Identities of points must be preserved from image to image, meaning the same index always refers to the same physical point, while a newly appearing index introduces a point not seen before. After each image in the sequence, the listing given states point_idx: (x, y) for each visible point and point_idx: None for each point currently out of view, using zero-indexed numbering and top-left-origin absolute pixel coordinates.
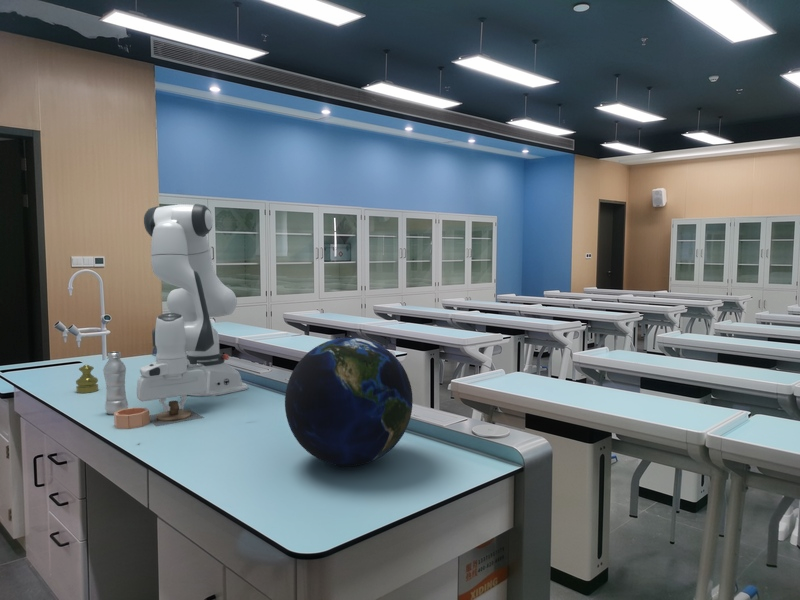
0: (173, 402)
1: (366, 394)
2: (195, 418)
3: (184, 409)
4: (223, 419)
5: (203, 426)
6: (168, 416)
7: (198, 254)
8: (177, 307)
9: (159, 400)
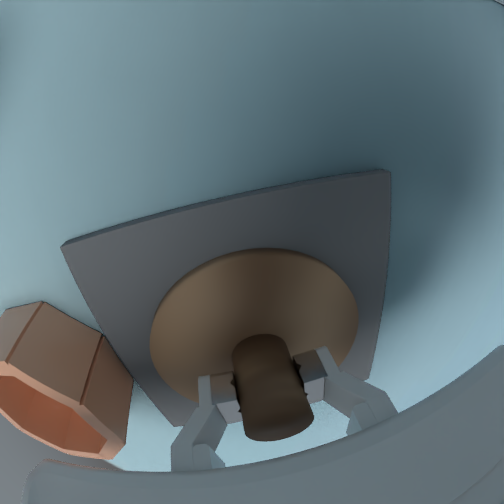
0: (275, 439)
1: None
2: None
3: (358, 180)
4: (404, 376)
5: (326, 425)
6: None
7: None
8: None
9: (172, 451)
